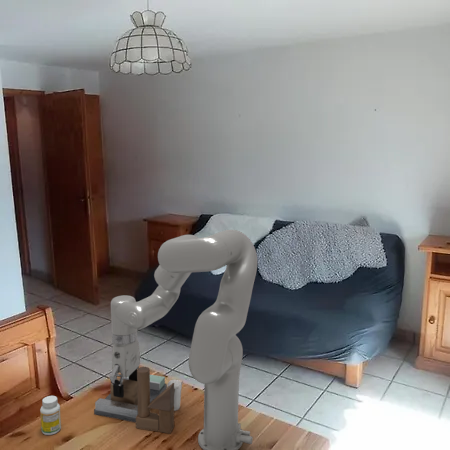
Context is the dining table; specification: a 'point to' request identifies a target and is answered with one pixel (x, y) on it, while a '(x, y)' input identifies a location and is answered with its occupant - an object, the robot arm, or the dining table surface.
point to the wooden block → (154, 405)
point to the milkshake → (176, 392)
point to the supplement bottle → (50, 415)
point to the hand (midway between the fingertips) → (126, 388)
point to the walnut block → (127, 392)
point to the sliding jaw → (155, 382)
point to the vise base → (152, 396)
